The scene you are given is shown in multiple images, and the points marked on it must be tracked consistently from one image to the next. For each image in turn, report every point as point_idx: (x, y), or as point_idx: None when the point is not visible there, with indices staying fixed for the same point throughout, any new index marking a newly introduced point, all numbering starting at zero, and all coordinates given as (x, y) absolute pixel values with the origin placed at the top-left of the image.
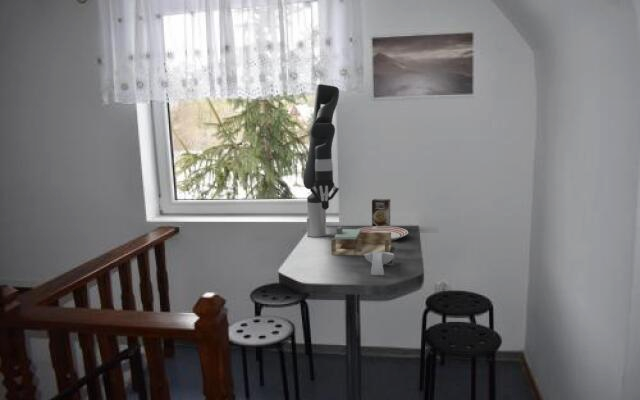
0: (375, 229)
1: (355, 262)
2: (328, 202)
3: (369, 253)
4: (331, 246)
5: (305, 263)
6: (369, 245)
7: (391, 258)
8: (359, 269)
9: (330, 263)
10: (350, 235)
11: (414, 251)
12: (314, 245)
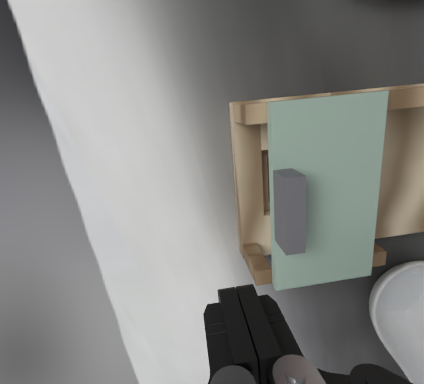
0: None
1: (329, 300)
2: (295, 350)
3: (401, 368)
4: (248, 266)
5: (183, 346)
6: None
7: None
8: (346, 354)
9: None
10: (345, 253)
11: None
12: (104, 86)
